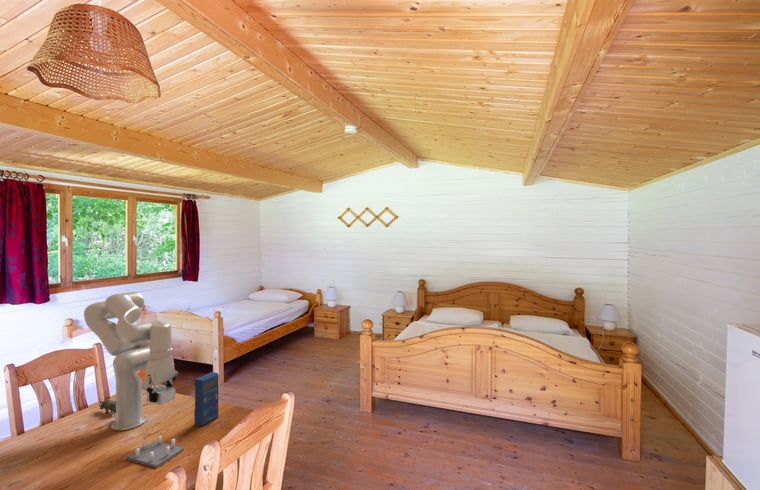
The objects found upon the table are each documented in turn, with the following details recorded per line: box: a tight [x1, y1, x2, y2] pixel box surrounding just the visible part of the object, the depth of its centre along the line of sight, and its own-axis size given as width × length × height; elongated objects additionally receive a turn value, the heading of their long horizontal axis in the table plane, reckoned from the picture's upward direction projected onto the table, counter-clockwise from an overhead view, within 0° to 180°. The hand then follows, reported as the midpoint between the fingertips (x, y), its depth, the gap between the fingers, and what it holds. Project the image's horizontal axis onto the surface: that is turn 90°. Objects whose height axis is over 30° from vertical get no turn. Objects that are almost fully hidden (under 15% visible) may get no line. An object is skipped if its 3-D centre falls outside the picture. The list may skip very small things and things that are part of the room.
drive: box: [146, 384, 176, 406], centre depth 144 cm, size 9×6×5 cm, turn 65°
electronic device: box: [193, 371, 220, 427], centre depth 156 cm, size 10×5×20 cm, turn 159°
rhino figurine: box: [98, 398, 116, 416], centre depth 164 cm, size 4×14×6 cm, turn 71°
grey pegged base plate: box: [126, 435, 185, 469], centre depth 131 cm, size 15×11×4 cm
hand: (161, 397), depth 144 cm, fingers closed on drive, 6 cm apart
